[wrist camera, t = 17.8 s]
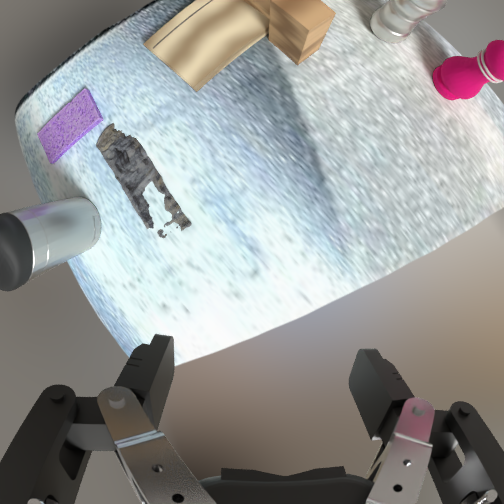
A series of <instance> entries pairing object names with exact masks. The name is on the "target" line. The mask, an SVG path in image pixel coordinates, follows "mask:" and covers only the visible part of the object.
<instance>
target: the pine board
mask: <svg viewBox="0 0 504 504" xmlns="http://www.w3.org/2000/svg"><path fill="white" fill-rule="evenodd" d="M269 20H270V19H268V18H267V17H266V16H264V15H263V14H262V13H260V12H259V11H258V10H256V9H255V8H254V7H252V6H251V5H249V4H248V3H247V2H245V1H244V0H196V1H194V2H193V3H192V4H190V5H189V6H188V7H186V8H185V9H184V10H182V11H181V12H180V13H179V14H177V15H176V16H175V17H174V18H172V19H171V20H170V21H169V22H168V23H166V24H165V25H164V26H163V27H162V28H161V29H159V30H158V31H157V32H156V33H155V34H154V35H153V36H151V37H150V38H149V39H148V40H147V41H146V42H145V43H144V44H143V45H144V46H145V47H146V48H147V49H149V50H150V51H151V52H152V53H153V54H154V55H156V56H157V57H158V58H159V59H160V60H161V61H163V62H164V63H165V64H166V65H167V66H168V67H169V68H171V69H172V70H173V71H174V72H175V73H176V74H177V75H178V76H180V77H181V78H182V79H183V80H184V81H185V82H186V83H187V84H188V85H190V86H191V87H192V88H193V89H194V90H195V91H196V92H197V91H198V90H200V89H201V88H202V87H203V86H204V85H205V84H206V83H207V82H208V81H210V80H211V79H212V78H213V77H214V76H215V75H216V74H218V73H219V72H220V71H221V70H222V69H223V68H225V67H226V66H227V65H228V64H229V63H231V62H232V61H233V60H234V59H236V58H237V57H238V56H239V55H241V54H242V53H243V52H244V51H246V50H247V49H248V48H249V47H251V46H252V45H253V44H255V43H256V42H257V41H259V40H260V39H261V38H263V37H264V36H265V35H267V34H268V33H269Z"/></svg>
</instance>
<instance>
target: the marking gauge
mask: <svg viewBox="0 0 504 504" xmlns="http://www.w3.org/2000/svg"><path fill="white" fill-rule="evenodd" d="M244 1H245V2H247V3H248V4H249V5H251V6H252V7H254V8H255V9H256V10H258V11H259V12H260V13H262V14H263V15H264V16H266V17H267V18H268V19H270V20H269V41H270V42H271V43H273V44H274V45H275V46H276V47H277V48H279V49H280V50H281V51H282V52H283V53H284V54H285V55H287V56H288V57H289V58H290V59H291V60H292V61H293V62H294V63H295V64H297V65H299V64H300V63H301V62H303V61H304V60H305V59H307V58H308V57H309V56H310V55H312V54H313V53H314V52H316V51H317V50H319V47H320V45H321V43H322V41H323V39H324V37H325V35H326V33H327V31H328V28H329V26H330V24H331V22H332V20H333V18H334V16H335V14H336V13H335V12H334V11H333V10H332V9H331V8H329V7H328V6H327V5H326V4H324V3H323V2H322V1H321V0H244Z"/></svg>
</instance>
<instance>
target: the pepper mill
mask: <svg viewBox="0 0 504 504" xmlns="http://www.w3.org/2000/svg"><path fill="white" fill-rule="evenodd" d="M503 81H504V41H503V40H495V41H492V42H491V43H489V44H488V46H487V48H486V49H483V50H481V51H479V52H478V55H477V57H473V58H468V57H462V56H453V57H450V58H448V59H446V60H445V61H444V62H443V64H442V65H441V66H439V67H437V68H436V69H435V70H434V72H433V82H434V85H435V87H436V89H437V91H438V92H439V93H440V94H441V95H442V96H443V97H444V98H446V99H449V100H456V99H459V98H461V99H470V98H472V97H474V96H475V95H476V94H478V92H479V91H480V90H481V88H482V86H483V85H484V84H485V83H487V82H493V83H499V82H503Z"/></svg>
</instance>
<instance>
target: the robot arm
mask: <svg viewBox="0 0 504 504" xmlns="http://www.w3.org/2000/svg"><path fill="white" fill-rule="evenodd" d="M100 233H101V220H100V216H99V213H98V211H97V209H96V207H95V206H94V205H93V204H92V203H91V202H90V201H89V200H87V199H86V198H83V197H74V198H69V199H63V200H58V201H53V202H48V203H44V204H40V205H35V206H30V207H26V208H22V209H18V210H14V211H10V212H6V213H2V214H0V290H3V291H12V290H15V289H17V288H19V287H20V286H22V285H24V284H25V283H27V282H29V281H31V280H32V279H34V278H36V277H38V276H40V275H41V274H43V273H45V272H47V271H49V270H50V269H52V268H54V267H56V266H58V265H60V264H62V263H63V262H65V261H67V260H69V259H71V258H73V257H75V256H77V255H79V254H81V253H83V252H85V251H87V250H89V249H91V248H92V247H93V246H94V245H95V244H96V243H97V241H98V239H99V237H100ZM398 373H399V372H398V371H397V369H396V368H395V366H394V365H393V364H392V363H390V362H389V361H387V360H386V359H383V358H382V356H381V355H380V353H379V352H378V350H377V349H360V350H359V351H358V353H357V356H356V359H355V362H354V365H353V368H352V371H351V374H350V377H349V388H350V391H351V393H352V395H353V398H354V400H355V402H356V405H357V407H358V409H359V412H360V415H361V417H362V419H363V422H364V424H365V427H366V429H367V431H368V434H369V436H370V439H371V440H378V439H382V441H383V442H382V444H381V446H380V447H379V450H378V452H377V454H376V456H375V458H374V460H373V462H372V465H371V466H370V468H369V470H368V472H367V474H366V476H365V478H362V477H359V476H356V475H351V474H346V472H345V469H344V467H343V466H340V467H330V468H319V469H313V470H310V471H306V472H302V473H298V474H294V475H290V476H279V475H275V474H270V473H265V472H260V471H256V470H243V469H228V468H222V469H221V476H215V477H210V478H206V479H203V480H200V481H197V480H196V478H195V477H194V476H193V474H192V473H191V472H190V470H189V469H188V468H187V466H186V465H185V464H184V462H183V461H182V459H181V458H180V457H179V455H178V454H177V453H176V451H175V450H174V448H173V447H172V445H171V444H170V443H169V441H168V440H167V438H166V437H165V435H164V434H163V433H162V432H161V431H159V432H157V429H158V426H159V423H160V419H161V416H162V412H163V409H164V406H165V403H166V399H167V396H168V393H169V390H170V387H171V383H172V380H173V376H174V340H173V336H166V335H159V334H155V335H154V337H153V339H152V341H151V343H150V345H148V344H141V345H140V346H138V347H137V348H135V349H134V350H133V352H132V354H131V356H130V359H128V361H127V363H126V365H125V366H124V368H123V370H122V372H121V374H120V376H119V377H118V379H117V381H116V383H115V385H114V386H113V387H109V388H106V389H104V390H102V391H101V392H100V394H99V395H98V397H76V395H75V392H74V391H73V390H72V389H71V388H70V387H68V386H65V385H52V386H50V387H48V388H46V389H45V390H44V391H43V392H42V393H41V395H40V396H39V398H38V400H37V401H36V403H35V404H34V406H33V407H32V409H31V411H30V412H29V414H28V415H27V417H26V419H25V420H24V422H23V423H22V425H21V427H20V428H19V430H18V432H17V434H16V435H15V437H14V439H13V441H12V442H11V444H10V446H9V447H8V449H7V451H6V453H5V455H4V456H3V458H2V460H1V462H0V504H74V503H75V500H76V496H77V493H78V490H79V487H80V484H81V481H82V478H83V475H84V472H85V469H86V467H87V463H88V460H89V458H90V455H91V453H92V451H94V450H95V451H114V452H115V454H116V456H117V458H118V460H119V462H120V464H121V466H122V468H123V470H124V472H125V474H126V476H127V478H128V480H129V482H130V483H131V485H132V487H133V489H134V491H135V493H136V495H137V497H138V499H139V501H140V502H141V504H416V502H417V500H418V496H419V493H420V490H421V487H422V484H423V480H424V477H425V474H426V470H427V467H428V469H429V471H430V474H431V476H432V478H433V481H434V483H435V486H436V488H437V491H438V493H439V496H440V498H441V501H442V503H443V504H504V451H503V450H502V448H501V447H500V445H499V444H498V442H497V440H496V439H495V437H494V436H493V434H492V433H491V431H490V430H489V428H488V427H487V425H486V424H485V422H484V421H483V419H482V418H481V417H480V415H479V414H478V412H477V411H476V409H475V408H474V407H473V406H472V405H470V404H469V403H466V402H461V401H458V402H455V403H453V404H452V406H451V407H450V409H449V411H443V410H434V407H433V406H432V404H431V403H429V402H428V401H426V400H424V399H422V398H415V397H414V395H413V394H412V392H411V390H410V389H409V387H408V386H407V384H406V383H405V381H404V380H402V377H401V375H400V374H398ZM458 444H459V446H460V447H461V449H462V451H463V453H464V455H465V463H464V465H463V466H462V464H461V462H460V460H459V458H458V456H457V454H456V452H455V450H454V449H455V448H456V446H457V445H458Z"/></svg>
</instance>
